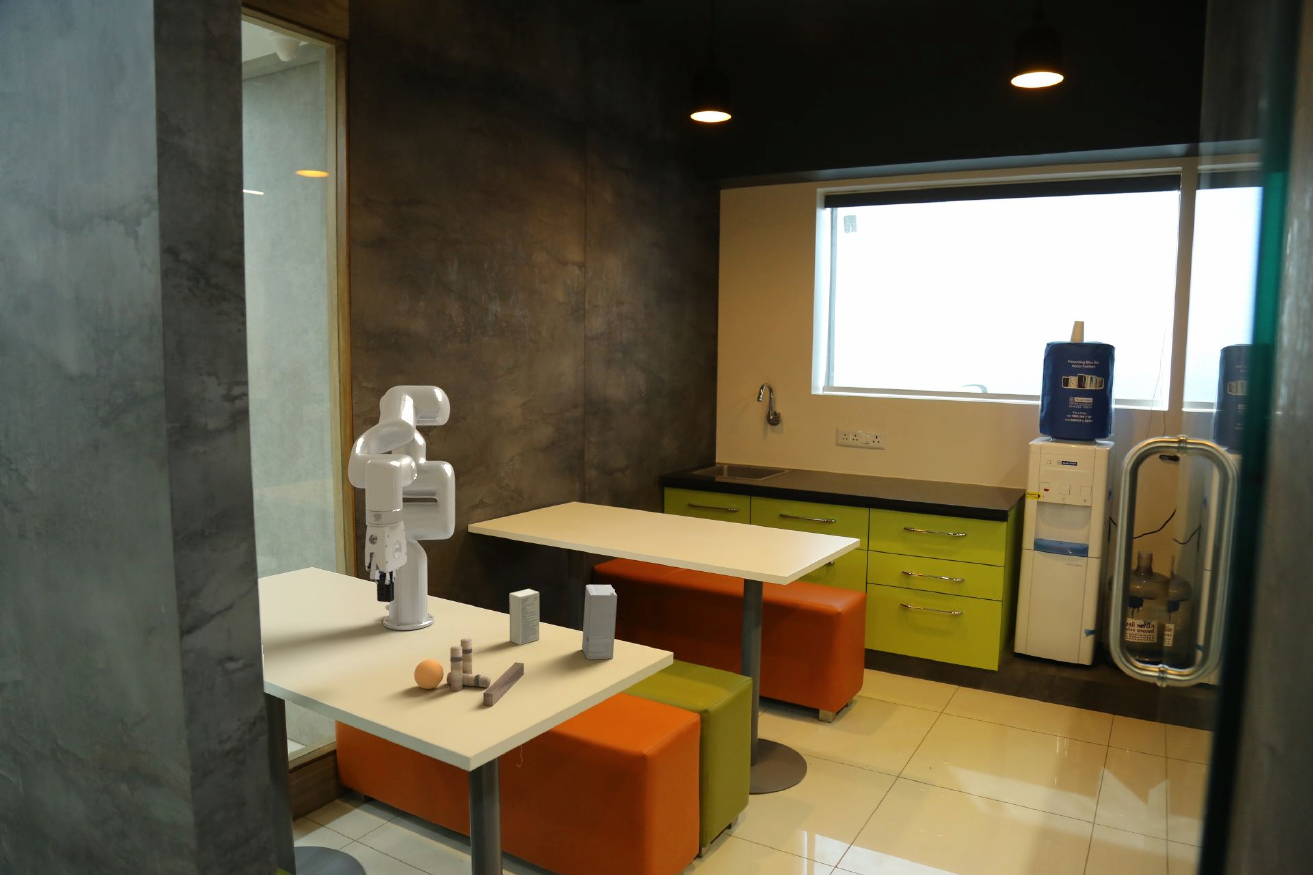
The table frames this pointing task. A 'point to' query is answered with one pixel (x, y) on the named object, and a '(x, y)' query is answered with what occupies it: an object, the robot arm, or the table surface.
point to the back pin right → (456, 668)
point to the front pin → (472, 680)
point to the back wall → (503, 684)
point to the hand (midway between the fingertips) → (385, 600)
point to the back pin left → (466, 655)
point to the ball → (428, 674)
